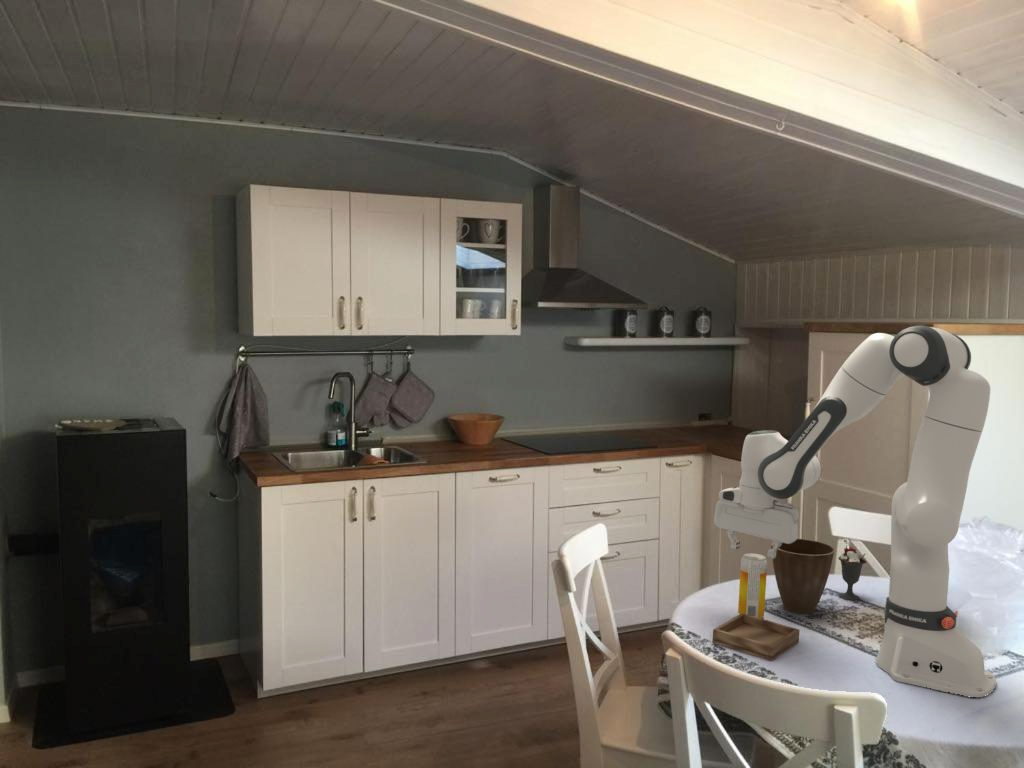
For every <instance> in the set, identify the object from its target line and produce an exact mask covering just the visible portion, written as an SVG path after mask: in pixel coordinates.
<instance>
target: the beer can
mask: <svg viewBox="0 0 1024 768" xmlns="http://www.w3.org/2000/svg"><path fill="white" fill-rule="evenodd" d="M766 557H767V556H765V555H762V554H760V553H759V554H758V553H755V552H754V553H752V552H751V553H744V554H743V555H742V557H741V559H740V569H739V570H740V572H739V586H738V588H739V589H738V590H739V591H738V593H739V594H738V607H737V609H738V610H737V613H738V615H740V614H742V613H743V614H747V615H750V616H754V617H757V618H761V619H763V617H764V616H765V609H766V608H765V606H766V605H765V604H766V590H767V589H766V588H767V587H766V585H767V574H768V573H767V571H768V569H767V568H768V560H767V558H766Z"/></svg>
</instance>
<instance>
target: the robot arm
mask: <svg viewBox="0 0 1024 768" xmlns="http://www.w3.org/2000/svg"><path fill="white" fill-rule="evenodd" d="M971 362H972V353H971V350H970V347H969V345H968V344H967V343H966V341H965V340H964V339H963V338H961V337H960V336H959V335H957V334H954V333H951V332H949V331H946V330H945V329H943V328H937V327H932V326H927V325H913V326H910V327H907V328H904V329H902V330H901V331H900V332H898V333H897V334H896V335H895V336H893V335H892V334H888V333H885V332H876V333H872V334H871V335H869V336H868V337H867V338H865V340H863V341H862V342H861V343H860V344H858V346H857V347H856V348H855V349H854V351H853V352H852V353H850V355H849V356H848V358H846V360H845V361H844V363H843V364H842V365H841V366H840V368H839V369H838V371H837V372H836V374H835V375H834V377H833V378H832V380H831V381H830V383H829V385H828V386H827V388H826V389H825V390H824V393H823V395H822V396H821V397H820V399H819V401H818V402H817V403H816V405H815V407H814V408H813V410H812V411H811V412H810V413H809V415H808V416H807V417H806V418H805V420H804V421H803V422H802V423H801V425H800V426H799V427H798V428H797V429H796V431H795V432H794V434H793V435H792V436H791V437H790V438H789V440H788V439H786V438H785V437H784V436H782V435H781V433H780V432H779V431H778V430H772V429H768V430H767V429H766V430H765V429H764V430H763V429H761V430H755V431H752V432H750V433H748V434H747V435H746V436H745V438H744V441H743V445H742V451H741V459H740V460H741V461H740V468H741V477H740V479H739V484H738V486H733V487H728V488H725V489H722V490H720V491H718V492H719V493H718V498H719V499H720V500H718V501H717V503H716V505H715V510H714V517H713V523H714V525H715V527H717V528H720V529H724V530H727V533H726V534H727V536H728V538H729V541H730V548H731V549H732V550H733V549H734V550H739V549H740V544H741V543H740V542H741V541H740V540H738V539H737V537H736V535H735V534H737V533H741V534H744V535H745V534H746V535H749V536H754V537H758V538H763V539H766V540H770V541H773V545H775V546H774V547H773V549H771V548H770V549H768V550H767V554H766V557H767V558H769V559H772V560H773V559H774V558H775V557H776V551H777V550H778V549H779V547H780V546H781V545H782V543H786V544H790V543H793V542H794V541H796V540H797V539H799V538H798V537H799V534H798V533H799V527H798V526H799V525H798V522H799V521H798V520H799V515H800V513H799V512H800V511H799V509H798V508H797V507H796V506H795V505H794V504H792V503H790V502H789V503H787V502H783V501H779V500H787V499H790V498H791V497H793V496H795V495H796V494H798V493H799V492H802V491H805V490H807V489H808V488H811V487H813V486H815V484H816V483H817V482H818V481H819V480H820V478H821V476H822V464H821V461H820V459H819V457H818V456H817V454H818V453H819V451H820V450H821V449H822V448H823V446H824V445H826V443H827V442H828V440H830V438H831V437H832V436H833V435H835V434H836V433H837V432H838V431H840V430H842V429H843V428H845V427H847V426H848V425H850V424H852V423H854V422H856V421H859V420H861V419H863V418H864V417H866V416H867V415H868V414H869V413H871V411H873V410H874V409H875V408H876V407H877V406H878V405H879V404H880V403H881V401H883V399H884V398H885V397H886V395H887V394H888V393H889V391H891V389H892V387H893V386H894V385H895V384H896V383H897V382H898V381H899V380H900V379H901V378H902V377H905V376H906V377H907V378H909V379H911V380H912V381H914V382H916V383H917V384H918V385H920V386H922V387H927V388H928V392H929V395H928V396H929V397H928V403H927V405H926V408H925V411H924V414H923V418H922V421H921V423H920V425H919V426H920V427H919V430H918V432H917V436H916V439H915V442H914V446H913V448H912V449H913V450H912V453H911V460H910V461H911V462H910V466H909V472H908V475H907V476H908V477H907V481H906V482H904V483H903V484H900V486H899V487H898V488H897V489H896V490H895V492H894V494H893V497H892V500H891V516H890V517H891V519H890V522H891V523H890V526H891V527H890V528H891V529H890V570H889V571H890V573H889V574H890V576H889V586H888V587H889V589H888V596H887V597H886V598H885V599H886V600H885V605H884V625H885V626H884V631H883V635H882V639H881V640H882V641H881V644H880V646H879V649H878V653H877V655H876V657H875V663H876V665H877V666H878V667H879V668H881V669H882V670H884V671H885V672H886V673H888V674H889V676H890V677H891V678H892V679H893V680H894V681H896V682H900V683H904V684H909V685H912V686H914V685H915V686H919V687H923V688H926V687H927V688H926V689H930V688H931V689H930V690H934V691H939V690H940V691H941V692H946V693H948V692H950V693H949V694H953V693H956V694H955V695H957V694H960V695H959V696H961V695H964V696H963V697H966V696H970V697H981V698H983V697H982V696H985V695H987V694H989V693H990V694H992V693H993V692H994V690H995V689H994V688H996V687H995V686H997V679H996V676H995V675H994V674H993V673H992V672H990V671H987V670H985V661H984V660H985V659H984V656H983V653H982V650H981V649H980V648H979V647H978V645H976V644H975V643H974V642H973V641H971V639H969V638H968V637H967V636H966V635H965V634H964V633H963V632H962V631H961V630H960V629H959V628H958V627H957V626H956V625H957V617H958V613H959V611H958V610H956V611H953V610H952V609H951V608H950V607H948V593H949V581H950V580H949V579H950V563H949V544H950V543H951V542H952V541H954V539H955V538H956V536H957V535H958V531H959V528H960V522H961V516H962V511H963V509H964V508H963V507H964V504H965V499H966V494H967V488H968V482H969V477H970V472H971V467H972V465H973V461H974V457H975V455H976V451H977V449H978V445H979V443H980V439H981V437H982V433H983V430H984V427H985V423H986V419H987V416H988V412H989V403H990V399H991V398H990V397H991V385H990V382H989V381H988V380H987V379H986V378H985V377H984V376H983V375H982V374H980V373H979V372H975V371H974V370H970V369H969V368H970V365H971ZM778 499H779V500H778ZM993 689H994V690H993ZM991 692H992V693H991ZM990 694H989V695H990ZM987 696H988V695H987ZM970 697H969V698H970ZM985 697H986V696H985Z"/></svg>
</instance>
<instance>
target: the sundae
mask: <svg viewBox="0 0 1024 768" xmlns="http://www.w3.org/2000/svg"><path fill="white" fill-rule="evenodd" d="M843 542H844V543H845V544H846V547H845V548H844V549H843V552H842V553H841V555H840V556H839V557H837V559H838V560H839V561H840V565H841V576H842V577H841V578H842V579H843V581H844V582H845V583H846V584H847V590H846V591H845V592H842V593H840V594H839V597H840V598H842V599H844V600H847V601H858V600H860V598H861V597H860V596H859V595H857V594H854V591H853V586H854V585H855V584H856V583H858V582H859V581H860V577H861V572H862V567H863V565H864V564H867V561H866V559H864V557H865V556H866V553H864V554H862V556H861V555H860V552H859V551H858V550H857V549H856V548H854V547H853V546H851V545H850V544H849V542H848V541H847V540H845V539H843ZM848 546H849V547H848Z"/></svg>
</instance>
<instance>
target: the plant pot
mask: <svg viewBox="0 0 1024 768" xmlns="http://www.w3.org/2000/svg"><path fill="white" fill-rule="evenodd" d="M770 545H771V546H770V547H771V548H770V549H773V547H774V546H775V545H773V540H771V542H770ZM834 554H835V549H834V547H833V546H831V545H829V544H827V543H825V542H824V543H823V542H821V541H816V540H812V539H805V538H797V540H796V541H794V542H793V543H790V544H786V543H782V545H781V546H780V547H779V549H778V550H777V551H776V557H775V558H774V559H772V565H773V566H772V567H773V571H774V572H773V573H774V577H775V581H776V585H777V590H778V592H779V596H780V599H781V602H782V606H783V609H785V610H786V611H788V610H789V611H788V612H792V613H795V614H805V615H806V614H812V613H814V612H815V611H816V609H817V607H818V606H819V603H820V600H821V598H822V597H823V594H824V591H825V588H826V585H827V583H828V578H829V576H830V573H831V568H832V565H833V560H834Z"/></svg>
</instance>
